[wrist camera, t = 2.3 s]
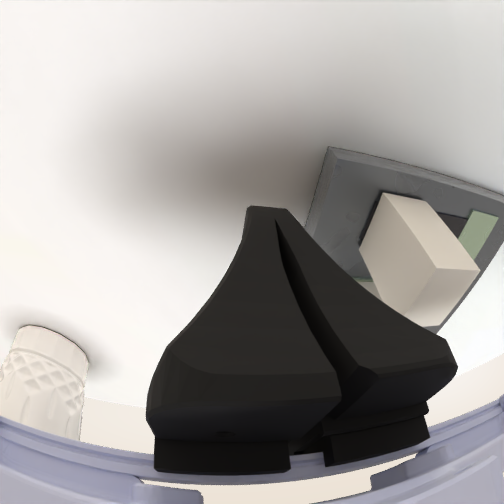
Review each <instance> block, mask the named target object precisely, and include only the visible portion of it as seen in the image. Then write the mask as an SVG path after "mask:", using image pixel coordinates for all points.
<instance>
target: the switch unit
mask: <svg viewBox="0 0 504 504" xmlns="http://www.w3.org/2000/svg"><path fill="white" fill-rule="evenodd" d="M382 193H388V194H393V195H398V196H403V197H408V198H413V199H418V200H422V201H426V202H427V203H428V204H429V205H430V206H431V208H432V209H433V210H434V211H435V212H436V213H437V215H438V216H439V217H440V218H441V219H442V221H443V222H444V223H445V224H446V225H447V227H448V228H449V229H450V230H451V232H452V233H453V234H454V235H455V237H456V238H457V239H458V240H459V242H460V243H461V244H462V246H463V247H464V248H465V250H466V251H467V252H468V254H469V255H470V256H471V258H472V259H473V261H474V262H475V263H476V265H477V266H478V268H479V269H480V270H481V271H480V272H479V274H478V275H477V277H476V278H475V279H474V281H473V282H472V284H471V285H470V286H469V288H468V289H467V291H466V292H465V293H464V295H463V296H462V297H461V299H460V300H459V301H458V303H457V304H456V305H455V307H454V308H453V309H452V310H451V312H450V313H449V314H448V315H447V317H446V318H445V319H444V320H443V322H442V323H441V324H440V325H437V326H427V327H423V328H425V329H427V330H429V331H431V332H433V333H435V334H437V332H438V331H439V330H440V329H441V328H442V327H443V325H444V324H445V323H446V322H447V321H448V319H449V318H450V317H451V316H452V314H453V313H454V312H455V311H456V309H457V308H458V307H459V306H460V304H461V303H462V302H463V300H464V299H465V298H466V296H467V295H468V294H469V292H470V291H471V290H472V288H473V287H474V285H475V284H476V283H477V281H478V280H479V278H480V277H481V276H482V274H483V273H484V271H485V270H486V268H487V267H488V265H489V264H490V262H491V261H492V259H493V257H494V256H495V254H496V253H497V251H498V250H499V248H500V246H501V245H502V243H503V241H504V196H503V195H500V194H497V193H495V192H492V191H490V190H487V189H484V188H481V187H479V186H476V185H473V184H470V183H467V182H464V181H461V180H458V179H455V178H452V177H449V176H446V175H442V174H439V173H436V172H433V171H429V170H426V169H422V168H419V167H415V166H412V165H408V164H404V163H400V162H396V161H392V160H388V159H384V158H380V157H376V156H372V155H367V154H363V153H358V152H353V151H349V150H344V149H339V148H334V147H328V149H327V153H326V157H325V160H324V164H323V168H322V171H321V175H320V178H319V182H318V185H317V189H316V192H315V196H314V199H313V203H312V206H311V209H310V213H309V216H308V219H307V223H306V226H305V230H306V231H307V233H308V234H309V235H310V236H311V237H312V238H313V239H314V240H315V242H316V243H317V244H318V245H319V246H320V247H321V248H322V249H323V250H324V251H325V252H326V253H327V254H328V255H329V256H330V257H331V258H332V259H333V260H334V261H335V262H336V263H337V264H338V265H339V266H340V267H341V268H342V269H343V270H344V271H345V272H346V273H347V274H349V275H350V276H351V277H352V278H353V279H354V280H356V281H357V282H374V281H373V279H372V277H371V274H370V272H369V270H368V268H367V266H366V264H365V262H364V260H363V257H362V255H361V253H360V251H359V248H360V246H361V244H362V241H363V239H364V237H365V235H366V232H367V230H368V228H369V225H370V223H371V220H372V218H373V216H374V213H375V211H376V208H377V206H378V204H379V201H380V199H381V196H382Z"/></svg>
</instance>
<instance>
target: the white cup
mask: <svg viewBox="0 0 504 504" xmlns="http://www.w3.org/2000/svg"><path fill="white" fill-rule="evenodd" d="M88 366H89V363H88V360H87V357H86V355H85V353H84V352H83V351H82V350H81V349H80V348H79V347H78V346H77V345H76V344H74V343H73V342H71V341H70V340H68V339H66V338H65V337H63V336H62V335H60V334H58V333H56V332H53V331H51V330H48V329H45V328H43V327H37V326H30V325H28V326H25V327H23V328H20V329H19V331H18V333H17V335H16V337H15V339H14V342H13V344H12V346H11V349H10V351H9V354H8V356H7V357H6V358H5V360H4V362H3V364H2V367H1V369H0V416H3V417H5V418H8V419H10V420H13V421H15V422H18V423H21V424H24V425H26V426H29V427H32V428H35V429H38V430H41V431H44V432H48V433H51V434H54V435H58V436H61V437H65V438H69V439H73V440H77V441H80V431H81V423H82V408H83V403H84V387H85V382H86V377H87V371H88Z"/></svg>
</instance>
